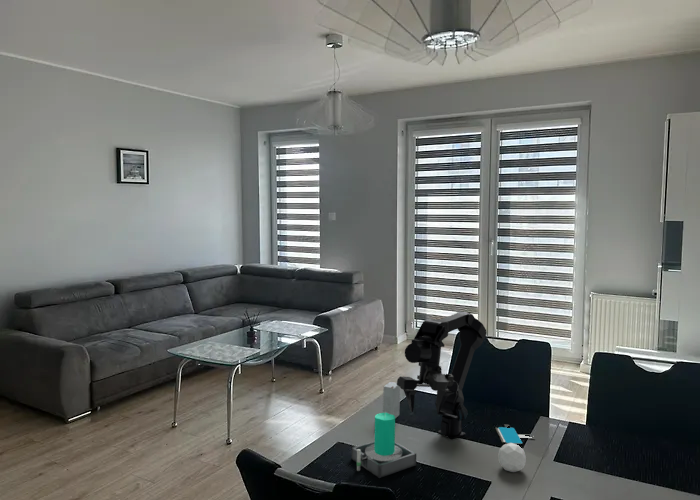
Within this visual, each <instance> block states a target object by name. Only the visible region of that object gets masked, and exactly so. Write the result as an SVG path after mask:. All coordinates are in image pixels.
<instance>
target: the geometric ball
mask: <svg viewBox="0 0 700 500" xmlns="http://www.w3.org/2000/svg"><path fill="white" fill-rule="evenodd" d="M521 447H522V446H521ZM521 447H520V446H519V445H517V444H514V443H505V444H503V445H502V446H501V447H500V448H499V449H498V454H497V459H498V462H499V464H500V466H501V467H502V468H503V469H504V471H508V472H510V473H517V472H520V471H521V470H522V469H523V468H525V466H526V460H527V456H526V453H525V450H524V449H523V447H522V448H521Z"/></svg>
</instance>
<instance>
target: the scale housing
mask: <svg viewBox="0 0 700 500" xmlns="http://www.w3.org/2000/svg"><path fill="white" fill-rule="evenodd" d="M374 441H375V440H372V441H370V442H365V443H362V444H359V445H355V446H352V447H351V460H353V462H355V463H356V472H360V471H361V467H362V468H364V469H365V470H366V471H369V472H370V473H371V474H372V475H374V476H376V477H377V478H379V479H380V478H384V477H387V476H389V475H392V474H395V473H397V472H401V471H404V470H406V469H409V468H412V467H416V466H417V453H416V452H414V451H412V450H411V449H409V448H407V447H406V446H404V445H402V444H400V443H399V442H398V441H395V445H396V446H398V447H399V448H400V449H401V450H402V457H400V458H397V459H394V460H391V461H388V462H385V463H378V462H376V461H374V460H373V459H371V458H370V457H369V458H367V460H365V461H361V458H364V457H366V456H365V449H366V448H367V447H368V446H370V445H372V444H374Z"/></svg>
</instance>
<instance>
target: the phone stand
mask: <svg viewBox="0 0 700 500" xmlns="http://www.w3.org/2000/svg"><path fill="white" fill-rule="evenodd" d="M503 425H504V427H503V426H499V427H497V426H495V431H496V433H497V435H498V436H499V439H500V440H501V443H505V444H508V443H514V444H520V445H521V444H523V440H521V439H520V438H532V437H529V436H525V435H526V434H518V433H517V431H516V429H515V427H510V428H507V427H508V426H510V424H503Z"/></svg>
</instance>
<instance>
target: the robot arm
mask: <svg viewBox="0 0 700 500" xmlns="http://www.w3.org/2000/svg"><path fill="white" fill-rule="evenodd" d="M455 330H457V331H458V332H459V333H458V334H459V335H458V338H459V343H460V346H459V349H458V353H457V356H456V358H455V361H454V365H453V367H452V368H453V369H452V371H451V373H446V374H445V373H442V370H443V369H442V366H441V365H440V361H441V354H442V353H441V351H442V348H444V347H445V343H444V342H443V341H444V340H445V339H446V338H447V337H448V336H449V333H450V332H452V331H453V332H454V331H455ZM486 337H487V329H486V327H485V326H484V324H483V322H481V321H480V320H479V319H477V318H476V317H475V316H474V315H473V313H471V312H466V311H457V312H455V313H454V314H451V315H449V316H446V317H444V318H443V317H442V318H441V319H436V318H435V319H433V318H431V319H429V318H427V319H425V320H423V322H422V324H420V326H419V329H418V330H417V333H416V334H415V336H414V337H413V339H411V342H410V343H408V345H406V346H405V350H404V357H405V359H406V360H407V361H408V362H409V363H410V364H416V363H417V364H418V366H419V375H417V377H416V379H415V378H412V377H410V376H399V377H398V378H397V381H396V383H397V385H398V386H399V387H400V390H403V392H404V395H405V398H406V401H407V404H408V408H409V411H410V412H411V413H413V412H414V408H415V398H416V397H415V396H416V394H417V390H416V388H418V387H421V388H422V387H423V388H424V387H427V388H430V389H431V390H432V391H435V392H436V399H435V408H436V413H437V415H438V416H439V415H440V416H441V421H440V430H438V431H437V433H438V434H440V435H442V436H444V437H446V438H449V439H450V440H453V439H456V438H460V437H463V436H465V435H466V432H463V431H462V429H463V427H462V425H463V422H462V421H465V420H466V418H467V416H468V412H469V411H468V409H467V408H466V407H465V405H464V402H465V399H464V394H463V388H464V385H465V382H466V379H467V375H468V372H469V370H470V366H471V363H472V360H473V357H474V354H475V351H476V350H477V349H478V348H479V347H481V346H482V345H483V342H484V340H485V338H486Z"/></svg>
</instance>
